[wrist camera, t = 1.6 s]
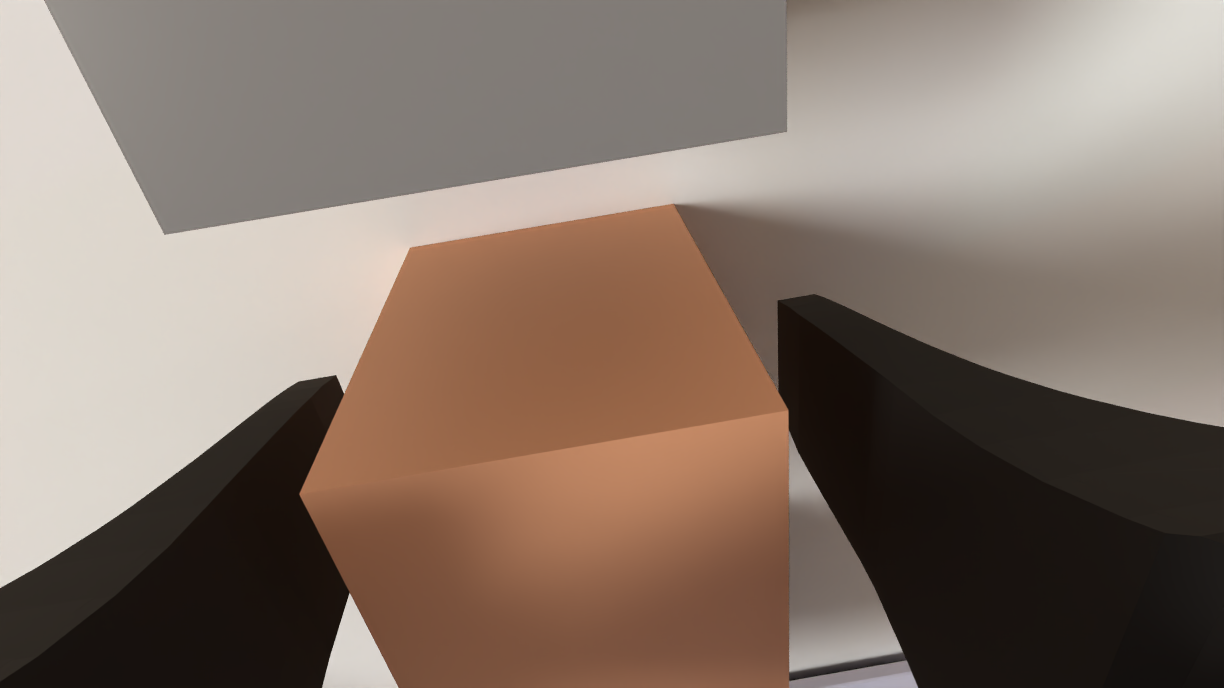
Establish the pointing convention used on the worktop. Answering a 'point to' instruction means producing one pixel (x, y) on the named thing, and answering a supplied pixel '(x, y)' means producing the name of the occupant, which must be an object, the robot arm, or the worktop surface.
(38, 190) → the worktop surface
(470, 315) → the terracotta block
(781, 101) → the charcoal block
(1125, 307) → the worktop surface
